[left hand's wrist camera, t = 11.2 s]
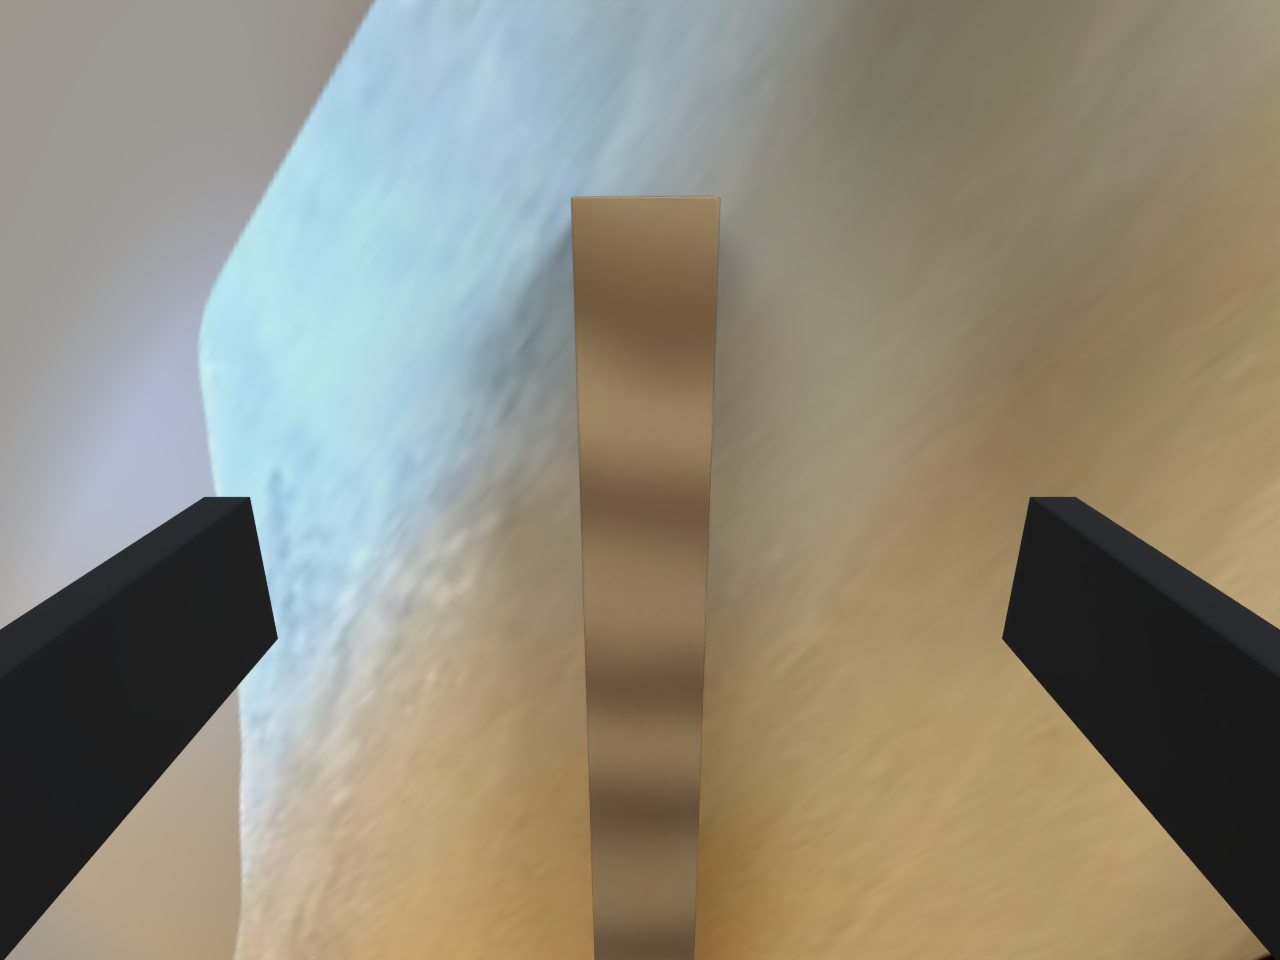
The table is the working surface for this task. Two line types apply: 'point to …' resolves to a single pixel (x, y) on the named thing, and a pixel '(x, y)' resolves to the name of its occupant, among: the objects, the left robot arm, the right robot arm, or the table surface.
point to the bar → (645, 552)
